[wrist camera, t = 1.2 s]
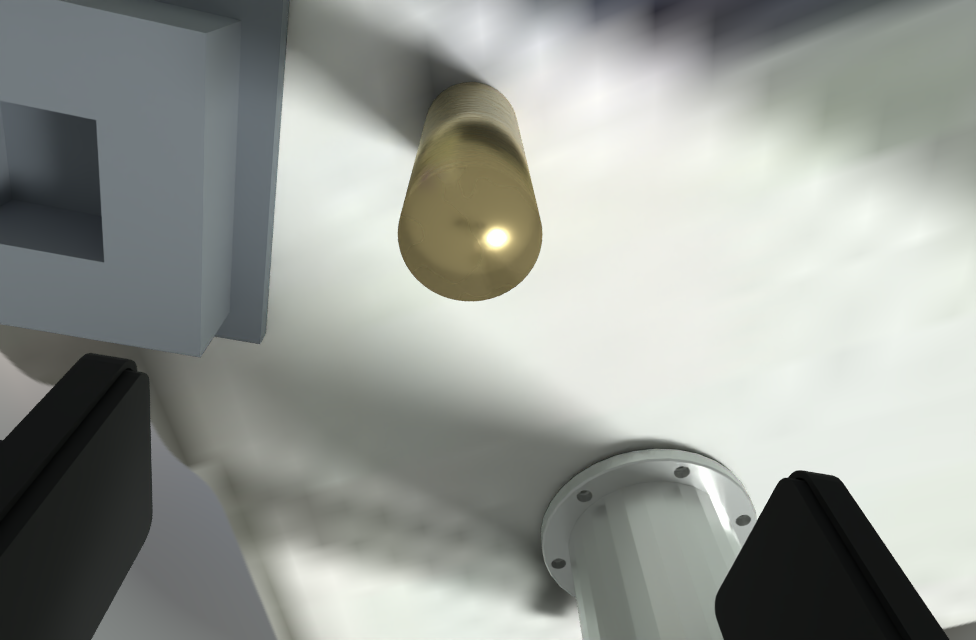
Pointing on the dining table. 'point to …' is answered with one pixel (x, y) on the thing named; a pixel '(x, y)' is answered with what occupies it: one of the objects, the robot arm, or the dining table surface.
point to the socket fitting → (139, 168)
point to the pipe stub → (470, 198)
